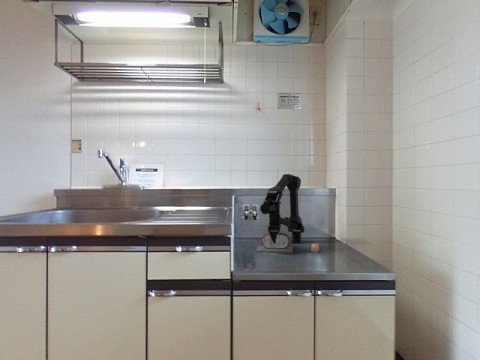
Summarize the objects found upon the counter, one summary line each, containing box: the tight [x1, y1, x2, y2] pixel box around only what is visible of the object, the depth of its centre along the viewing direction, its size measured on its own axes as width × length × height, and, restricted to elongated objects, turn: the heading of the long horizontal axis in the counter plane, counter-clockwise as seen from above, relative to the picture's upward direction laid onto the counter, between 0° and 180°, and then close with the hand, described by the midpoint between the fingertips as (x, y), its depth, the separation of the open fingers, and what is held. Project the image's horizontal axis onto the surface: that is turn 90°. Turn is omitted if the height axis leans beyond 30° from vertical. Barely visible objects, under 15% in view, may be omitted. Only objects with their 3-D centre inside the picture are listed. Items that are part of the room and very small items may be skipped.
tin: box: [261, 232, 291, 249], centre depth 176 cm, size 15×3×8 cm, turn 81°
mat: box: [255, 245, 294, 254], centre depth 176 cm, size 12×19×1 cm, turn 82°
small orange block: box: [310, 242, 320, 253], centre depth 172 cm, size 4×4×4 cm
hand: (274, 241), depth 176 cm, fingers open, 9 cm apart
